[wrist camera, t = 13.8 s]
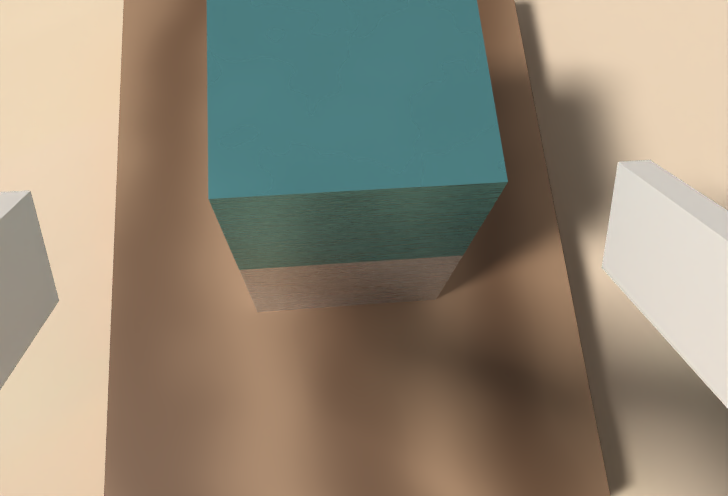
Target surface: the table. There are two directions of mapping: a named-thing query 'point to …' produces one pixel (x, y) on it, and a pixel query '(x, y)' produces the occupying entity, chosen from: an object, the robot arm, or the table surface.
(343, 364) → the walnut stand
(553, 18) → the table surface
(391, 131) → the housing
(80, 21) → the table surface
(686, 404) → the table surface
